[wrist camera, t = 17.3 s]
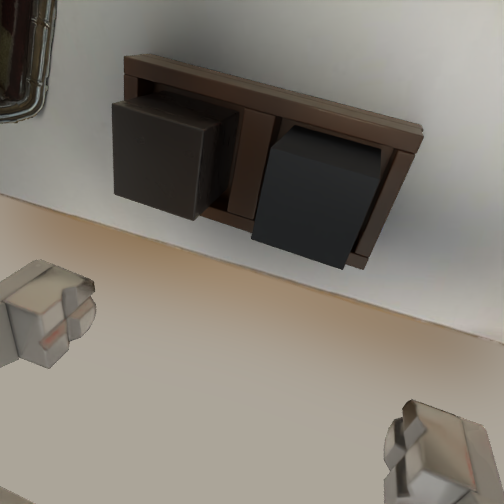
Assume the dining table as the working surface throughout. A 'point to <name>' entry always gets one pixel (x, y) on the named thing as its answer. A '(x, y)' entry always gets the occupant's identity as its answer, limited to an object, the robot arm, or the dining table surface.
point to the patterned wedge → (24, 56)
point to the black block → (316, 195)
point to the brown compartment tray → (235, 143)
